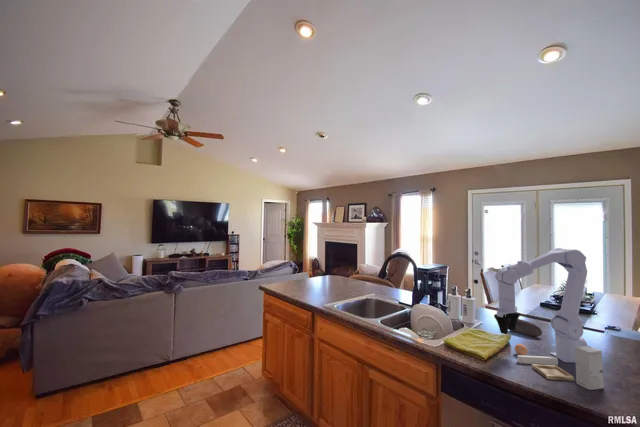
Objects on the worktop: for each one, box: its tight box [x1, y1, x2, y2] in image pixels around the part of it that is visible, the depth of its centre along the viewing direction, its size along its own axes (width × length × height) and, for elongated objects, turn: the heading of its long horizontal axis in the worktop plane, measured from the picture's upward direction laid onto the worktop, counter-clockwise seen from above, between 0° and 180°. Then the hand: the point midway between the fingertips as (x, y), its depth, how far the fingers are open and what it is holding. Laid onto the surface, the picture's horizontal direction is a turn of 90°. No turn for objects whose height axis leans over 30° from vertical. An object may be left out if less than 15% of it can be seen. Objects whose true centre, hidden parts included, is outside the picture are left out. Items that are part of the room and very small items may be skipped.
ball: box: [514, 343, 528, 356], centre depth 118 cm, size 4×4×4 cm
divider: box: [516, 354, 559, 366], centre depth 111 cm, size 14×1×2 cm, turn 84°
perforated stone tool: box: [508, 318, 543, 338], centre depth 142 cm, size 15×5×7 cm, turn 36°
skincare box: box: [575, 345, 604, 391], centre depth 95 cm, size 6×4×12 cm
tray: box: [531, 364, 576, 382], centre depth 103 cm, size 9×9×1 cm
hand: (507, 331), depth 118 cm, fingers open, 7 cm apart
